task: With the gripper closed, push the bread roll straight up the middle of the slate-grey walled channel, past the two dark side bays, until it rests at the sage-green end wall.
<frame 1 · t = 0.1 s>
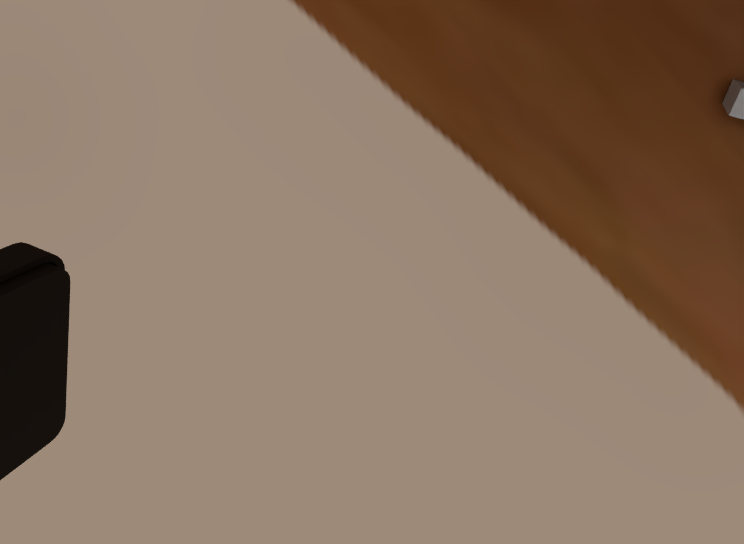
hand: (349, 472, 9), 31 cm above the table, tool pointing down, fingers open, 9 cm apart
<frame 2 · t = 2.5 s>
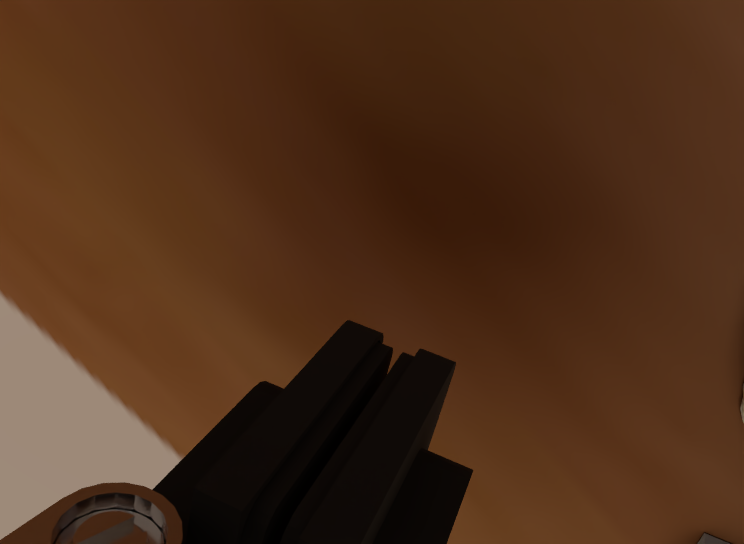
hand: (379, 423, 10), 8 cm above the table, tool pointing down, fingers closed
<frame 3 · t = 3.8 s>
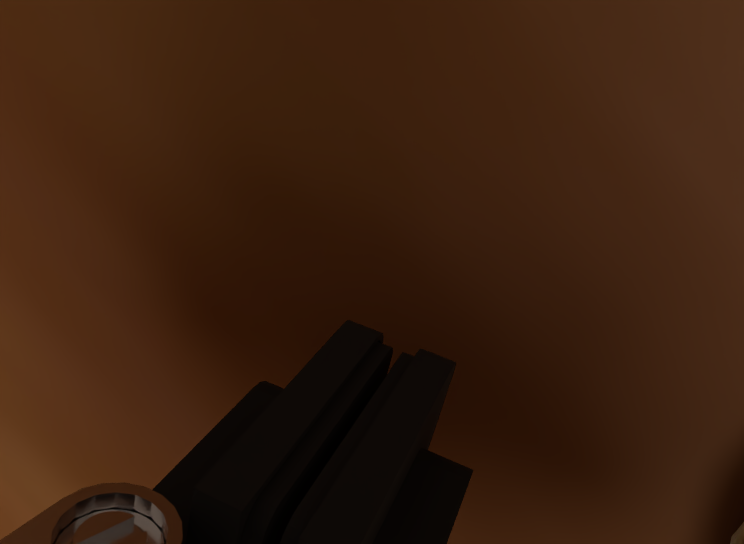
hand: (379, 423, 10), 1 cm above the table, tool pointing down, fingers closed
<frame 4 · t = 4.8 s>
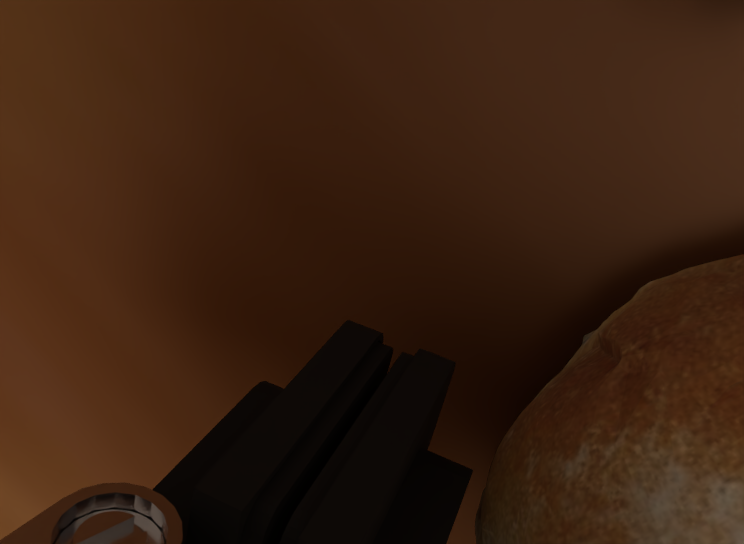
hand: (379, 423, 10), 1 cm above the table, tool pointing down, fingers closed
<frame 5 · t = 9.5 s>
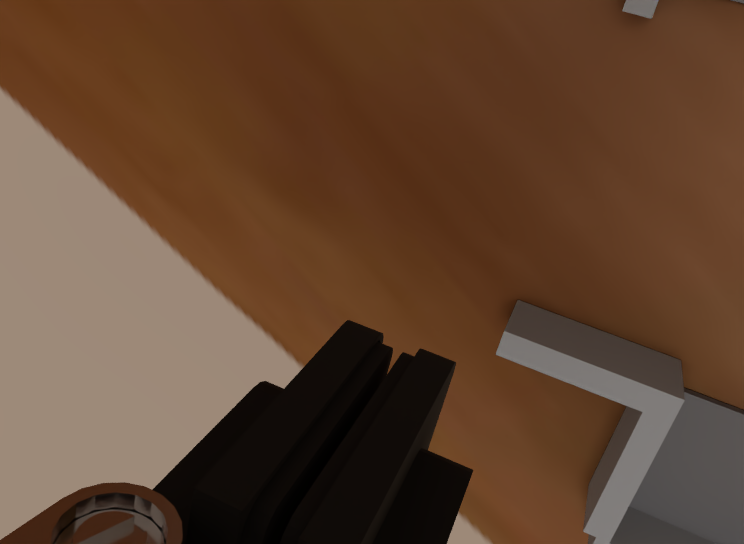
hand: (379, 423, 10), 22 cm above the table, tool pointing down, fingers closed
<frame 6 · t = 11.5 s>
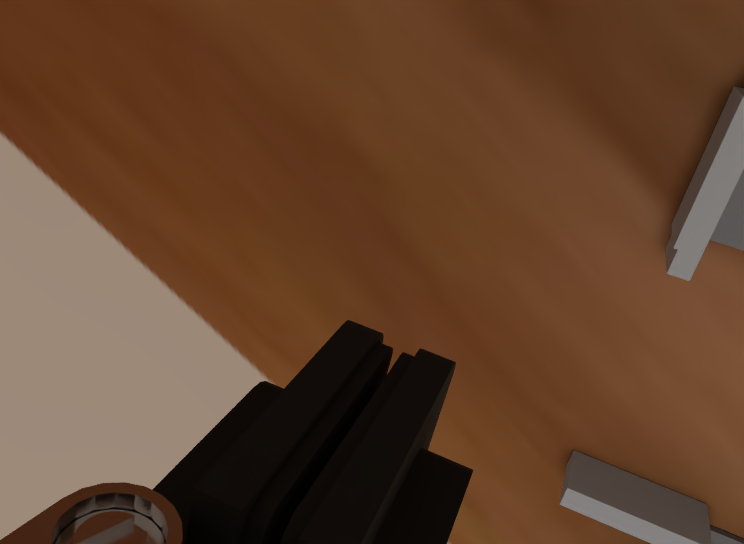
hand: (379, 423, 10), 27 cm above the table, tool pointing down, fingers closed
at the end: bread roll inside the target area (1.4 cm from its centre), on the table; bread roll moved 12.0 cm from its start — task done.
